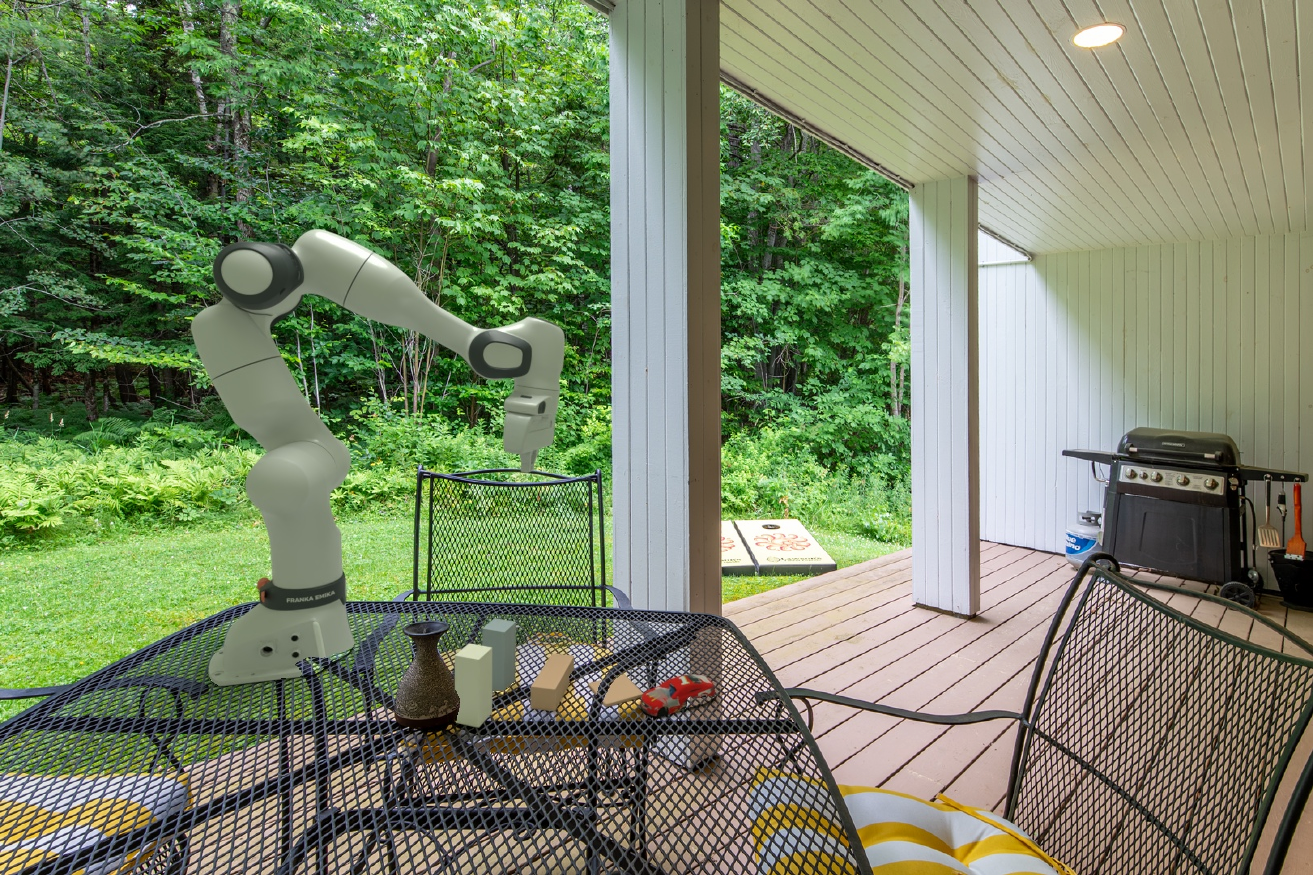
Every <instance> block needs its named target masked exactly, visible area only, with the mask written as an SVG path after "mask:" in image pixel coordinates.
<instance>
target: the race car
mask: <svg viewBox="0 0 1313 875" xmlns="http://www.w3.org/2000/svg"><path fill="white" fill-rule="evenodd" d="M706 695H708V696H712V697H714V698H715V696H716V689H715V685H714V683H713V682H712V680H710V678H708V677H707V676H705V675H701V674H684V675H683V674H682V675H679V676H675V677H672V678H669V679H667V680H665V681H663V680H661V682H660V685H658V686H655V687H653V688H650V689H648V690H646V691H645V692H643V695H642V697H640V698H641V699H640V708H641V710H642V711H643V712H644V713H646V714H648V715H649V716H652V717H653V716H654V717H658V718H659V719H661V718H664V717H666V716H668V715H671V714H674V713H678V712H681V711H685V710H686V709H685V708H686V706H687V699H688V698H689V697H690V696H692V698H694V699H697V698H702V697H706Z"/></svg>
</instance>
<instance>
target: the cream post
mask: <svg viewBox="0 0 1313 875" xmlns="http://www.w3.org/2000/svg"><path fill="white" fill-rule="evenodd" d="M455 690H456V691H457V694H458V696H459V698H460V708H459V712H458V715H457V721H456V723H455V724H461V725H464V726H469V727H475V728H478V729H479V728H480V727H481V726H482V725H483V724H484V723H485V722H486V720H487V719H488V718H489V717H490V716H491V714H492V713H493V692H492V647H486V646H482V644H474V643H467V645H465V646H464V647H462V649H460V651H458V652H457V653H455V655H454V691H455Z"/></svg>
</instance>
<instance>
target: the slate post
mask: <svg viewBox="0 0 1313 875" xmlns="http://www.w3.org/2000/svg"><path fill="white" fill-rule="evenodd" d="M481 632H482V635H481V637H482V638H481V640H482V642H481V643H482V644H481V646H486V647H492V691H504V690H506V688H507V687H509V686H510V685H511V684H512V683H514V682H515V683H516V663H517V662H516V658H517V657H516V655H517V653H516V648H517V646H516V644H517V640H516V639H517V621H512V620H505V619H501V618H495V617H494V618H493V619H492V620H491V621H490V622H488V623H487V624H486V625H485V626H483V627H482V631H481ZM515 683H514V684H515Z"/></svg>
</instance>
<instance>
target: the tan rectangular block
mask: <svg viewBox="0 0 1313 875" xmlns="http://www.w3.org/2000/svg"><path fill="white" fill-rule="evenodd" d="M543 665H544V666H542V668H541V670H540V672H539V673H538V675H537V676H536V678H535V680H534V681H533V683H532V684H531V686H530V709H532V710H533V709H534V710H541V711H548V712H549V711H550V712H556V710H557V708H558V706H559V705H560V703H561V700H562V699H563V697H564V695H565V693H566V691H567V690H568V688H569V685H570V684H569V676H570V674H571V673H572V671H573V670H574V671H575V655H571V654H562V653H553V652H552V653H551V654H550V656H549V657H548V659H547V661H546V662H545V664H543Z"/></svg>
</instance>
